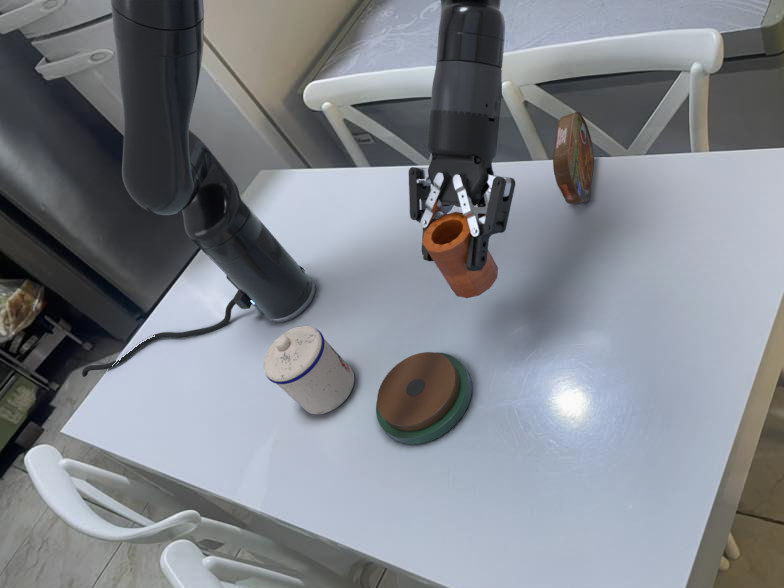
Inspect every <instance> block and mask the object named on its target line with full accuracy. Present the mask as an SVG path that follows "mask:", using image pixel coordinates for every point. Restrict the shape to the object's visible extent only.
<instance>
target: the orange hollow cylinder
mask: <svg viewBox="0 0 784 588" xmlns="http://www.w3.org/2000/svg"><path fill="white" fill-rule="evenodd" d="M422 237H423V245H424V247H425V248H426V250H427V251H428V253H429V254H430V256H431V258H432V259H433V261H432V262H434V264H435V265H436V267H437V268H438V271H439V272H440V273H441V275H442V276H443V278H444V279H445V281H446V283H447V284H448V286H449V287H450V289H451V290H452V292H453V293H454V295H455V296H456V297H459V298H463V299H470V298H476V297H478V296H481V295H482V294H484V293H485V292H487V291H488V290H490V289H491V288H492V287H493V285H494V284H495V282H496V281H497V279H498V275H499V267H498V265H497V263H496V261H495V259H494V258H493V256H492V253H491V251H490V249H488V252H487V262H486V264H485V266H483V269H482V270H480V271H470V270H467V268H466V265H467V253H468V244H469V237H473V236H472V235H471V232H470V228H469V224H468V221H467V218H466V217H464V215H463V213H462V212H460V211H453V212H449V213H447V214H446V215H443V216H441V217H440V218H438V219H437V220H435V221H434V222H432V223H431V224H430V226H429V227H428V228H427V230H426V231H425V232H424V236H423V235H422Z"/></svg>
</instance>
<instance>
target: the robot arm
mask: <svg viewBox="0 0 784 588" xmlns="http://www.w3.org/2000/svg"><path fill="white" fill-rule="evenodd" d="M501 1H502V0H440V18H439V25H438V35H437V36H438V37H437V48H436V60H435V61H436V62H435V69H434V76H433V80H432V87H431V98H430V99H431V101H430V114H429V126H428V127H429V128H428V142H427V150H428V152H429V153H430V154H431V161H430V163H429V166H428V167H416V166H411V167H410V168H409V169H408V195H409V196H408V197H409V198H408V199H409V217H410V219H411V220H412V221H416V222H418V223H419V224H420V226H421V227H422V238H421V239H422V240H421V254H422V258H423V260H424V261H427V262H434V261H433V259H432V258H431V256H430V254H429V253H428V251H427V250H426V248H425V247H424V245H423V236H424V232H425V231H426V230H427V228H428V227H429V226H430V224H431V223H432V222H434V221H435V220H437V219H438V218H440V217H441V216H443V215H446V214H449V213H451V211H452V210H453V208H454V207H457V208H460V209H461V213H463V215H464V217H466V218H467V221H468V224H469V228H470V232H471V235H472V236H473V237H469V244H468V253H467V265H466V268H467V270H470V271H480V270H482V269H483V266H485V264H486V262H487V252H488V250H489V242H490V238H491V236H493V235H496V234H503V233H505V232H506V230H507V226H508V221H509V216H510V211H511V207H512V203H513V197H514V193H515V188H516V179H514V178H513V177H509V176H508V177H507V176H500V175H496V174H495V171H494V169H493V160H494V159H495V157H496V155H497V149H498V141H499V140H498V138H499V129H500V128H499V127H500V117H501V108H502V98H503V97H502V96H503V81H502V76H503V75H502V74H503V63H504V62H503V61H504V52H505V38H506V20H505V16H504V14H503V12H502V11H501V3H502V2H501ZM110 6H111V18H112V27H113V28H112V29H113V36H114V42H115V51H116V60H117V61H116V62H117V70H118V79H119V87H120V95H121V101H122V111H123V144H122V145H123V147H122V164H121V177H122V182H123V184H124V187H125V189H126V191H127V193H128V195H129V196H130V197H131V198H132V200H133V201H134V202H135V203H136V204H137V205H138V206H140V207H141V208H142V209H143V210H146V211H147V212H149V213H151V214H154V215H157V216H172V215H175V214H178V213H181V212H182V219H183V227H184V231H185V233H186V235H187V236H188V238H189V239H190V240H191V241H192V242H193V244H195V245H196V246H197V247H198V248H199V249H200V250H201V252H203V253H204V254H205V255H206V256H207V257H208V259H210V260H211V261H212V262H213V263H214V264H215V266H217V267H218V268H219V269H220V271H222V272H223V273H224V274H225V275H226V276H225V277H226V279H227V280H228V281H229V282H230V283H231V285H233V287H235V289H237V291H236V293H235V295H234V296H233V298H232V299H231V300H230V301H229V302H228V303H227V305H226V307H225V314H224V318H223V319H222V320H221V321H220V322H218V323H216V324H214V325H211V326H207V327H203V328H198V329H191V330H186V331H181V332H173V331H172V332H171V331H164V332H158V333H155V334H153V336H154V335H155V337H152V338H150V339H147V340H146V341H144V342H142V343H141V344H139V345H138V346H137V347H135V348H134V349H133V350H132V351H130V352H129V353H128V354H126V355H125V356H124V357H122V358H121V360H120V361H119V360H118V361H117V362H116V360H117V359H115V360H113V361H110V362H108V363H104V364H92V365H87V366H85V367H84V368H83V369H82V371H81V376H82V378H85V377H87V376H88V374H89V372H91V371H103V370H108V369H109V370H110V369H112V368H114V367H116V366H118V365H120V364H121V363H124V361H126V360H127V359H129V358H130V357H131V356H133V355H134V354H135V353H136V352H138V351H139V350H140V349H142V348H143V347H145V346H146V345H148V344H150V343H151V342H153V341H156V340H159V339H162V338H175V339H180V338H182V339H183V338H189V337H192V336H199V335H204V334H209V333H212V332H215V331H217V330H220V329H221V328H223V327H225V326H226V325H227V324H228V323H229V322H230V321H231V318H232V310H233V309H234V306H235V305H237V306H238V307H239V308H240V309H241V310H249V309H251V307H252V306H253V307H254V308H255V309H256V310H257V311H258V312H259V313H260V314H261V315H262V316H265V317H266V318H267V319H268V320H269V321H270V322H273V323H284V322H285V323H286V322H288V321H291V320H292V319H294V318H296V317H298V316H299V315H301V313H303V312H304V311H305V310H307V308H308V307H309V305H311V303H312V301H313V299H314V297H315V294H316V284H315V282H314V281H313V279H312V278H311V277H310V276H308V275H307V271H306V269H304V267H303V266H301V265H300V264H298V262H297V261H296V260H295V259H294V258H293V257H292V256H291V254H290V253H289V252H288V251H287V250H286V248H284V246H283V245H282V244H281V243H280V241H278V239H277V238H276V237H275V236H274V235H273V234H272V233H271V231H270V229H268V228H267V227H266V225H265V224H264V223H263V222H262V220H260V219H259V217H258V216H257V215H256V214H255V212H254V211H253V210H252V209H251V208H250V207H249V206H248V205H247V204H246V203H245V201H244V200H243V198H242V196H241V192H240V189H239V188H238V187H239V186H238V185H237V184H236V182H235V181H234V179H233V178H232V176H231V175H230V174H229V172H228V171H227V170H226V168H225V167H224V166H223V165H222V163H221V162H220V161H219V159H218V158H217V157H216V155H214V153H213V152H212V151H211V150H210V148H209V147H208V146H207V144H205V143H204V142H203V140H202V139H201V138H200V137H199V136H198V135H197V134H195V133H194V132H193V131H192V130H190V122H191V117H192V116H191V115H192V113H193V107H194V103H195V99H196V94H197V90H198V85H199V80H200V73H201V67H202V61H203V54H204V53H203V52H204V42H205V41H204V36H205V34H204V33H205V32H204V31H205V24H204V23H205V15H204V14H205V9H204V7H205V6H204V0H110ZM431 186H432V187H431ZM487 192H488V193H489V199H488V196H487ZM115 362H116V363H115ZM118 362H119V363H118ZM114 363H115V364H114ZM117 363H118V364H117ZM113 364H114V365H113ZM116 364H117V365H116ZM112 365H113V367H112ZM115 365H116V366H115Z"/></svg>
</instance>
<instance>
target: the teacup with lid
mask: <svg viewBox="0 0 784 588" xmlns="http://www.w3.org/2000/svg"><path fill="white" fill-rule="evenodd" d="M263 371H264V374H265V376H266V378H267V380H269V381H270V382H271V383H273V384H275V385H277V386H278V387H279V388H280V389H281V390H282V391H284V392H285V393H286V394H287V395H288V396H289V397H291V399H292V400H293V401H294V402H296V403H297V404H298V405H299V406H300V407H301V408H302V409H303V410H304V411H306V412H307V413H309V414H312V415H324V414H327V413H330V412H332V411H334V410H336V409H337V408H339V407H340V406H341V405H342V404H343V403H344V402H345V401H347V398H348V397H349V396H350V394H351V392H352V390H353V388H354V385H355V373H354V371H353V369H352V367H351V366H350V364H348V363H347V361H345V359H344V358H343V357H342V356H341V355H340V354H339V353H338V352H337V351H336V350H335V348H333V347H332V345H331V344H330V343H329V342H328V341H327V340H326V339H325V337H324V335H323V333H322V332H321V331H320V330H319V329H317V328H315V327H312V326H309V325H301V326H296V327H293V328H290V329H289V330H287V331H285V332H284V333H282V334H281V335H280V336H278V337H277V338H276V339H275V340H274V341H273V343H272V344H271V345H270V347H269V348H268V349H267V352H266V354H265V357H264V360H263Z"/></svg>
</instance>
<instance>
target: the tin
mask: <svg viewBox="0 0 784 588" xmlns="http://www.w3.org/2000/svg"><path fill="white" fill-rule="evenodd" d="M594 161H595V160H594V146H593V142H592V138H591V134H590V130H589V128H588V125H587V122H586V120H585V118H584V116H583V114H582V113H581V112H579V111H574V112H573V113H570V114H566V115H563V116H561V117H560V118H559V119H558V122H557V128H556V135H555V142H554V148H553V154H552V168H553V174H554V179H555V183H556V185H557V187H558V188H559V190H560V192H561V195H562V197H563V198H564V201H565V203H567V204H568V205H576V204H580V203H583V202H584V203H585V202H586V203H587V202H588V201H589V199H590V197H591V190H592V179H593V169H594Z"/></svg>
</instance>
